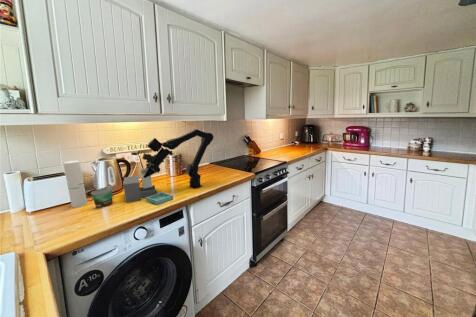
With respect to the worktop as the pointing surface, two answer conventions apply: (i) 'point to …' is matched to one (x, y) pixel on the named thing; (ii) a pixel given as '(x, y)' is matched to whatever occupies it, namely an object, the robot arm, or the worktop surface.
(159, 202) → the teal tray
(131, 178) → the coffee machine bay
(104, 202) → the food container
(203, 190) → the worktop surface
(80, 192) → the grey rectangular column
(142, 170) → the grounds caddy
